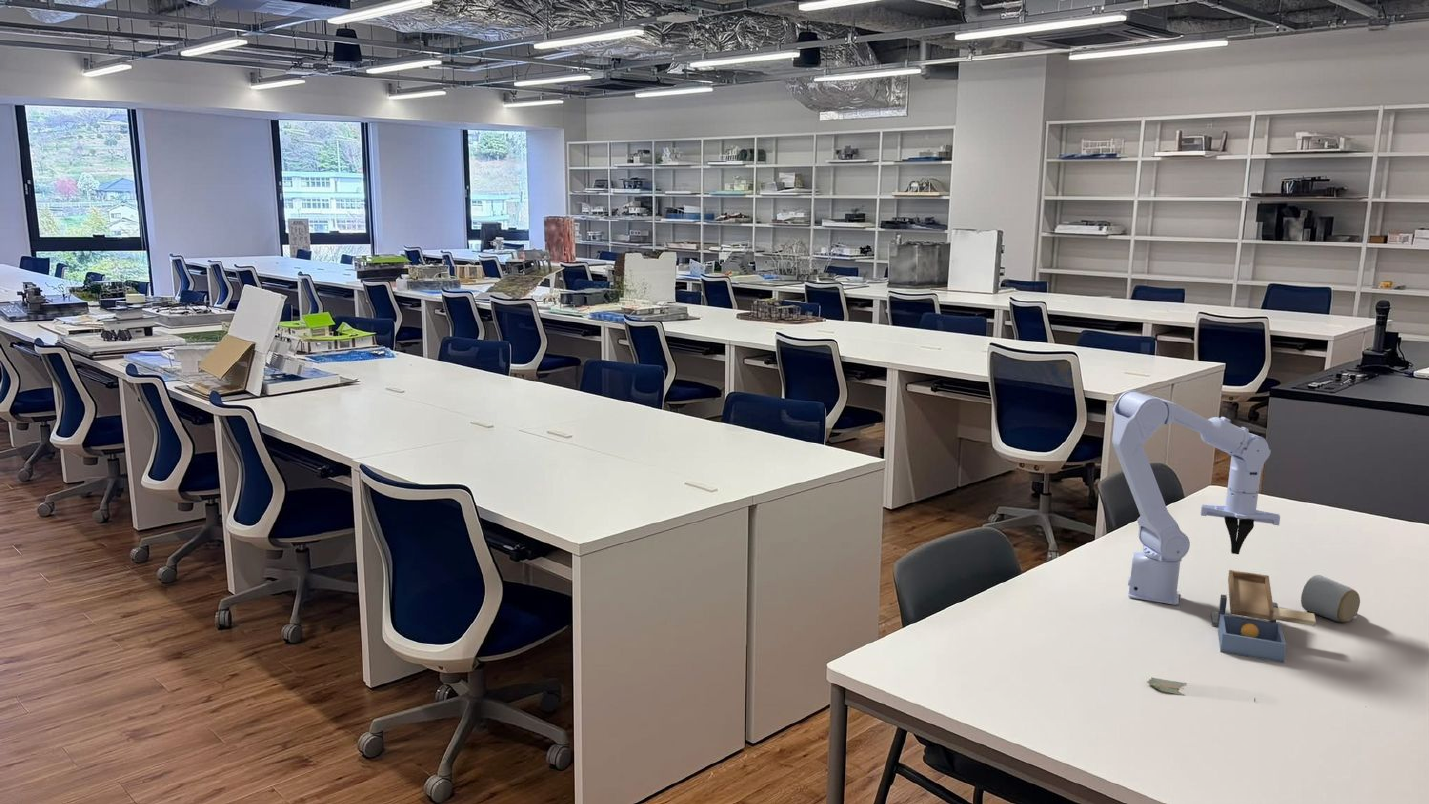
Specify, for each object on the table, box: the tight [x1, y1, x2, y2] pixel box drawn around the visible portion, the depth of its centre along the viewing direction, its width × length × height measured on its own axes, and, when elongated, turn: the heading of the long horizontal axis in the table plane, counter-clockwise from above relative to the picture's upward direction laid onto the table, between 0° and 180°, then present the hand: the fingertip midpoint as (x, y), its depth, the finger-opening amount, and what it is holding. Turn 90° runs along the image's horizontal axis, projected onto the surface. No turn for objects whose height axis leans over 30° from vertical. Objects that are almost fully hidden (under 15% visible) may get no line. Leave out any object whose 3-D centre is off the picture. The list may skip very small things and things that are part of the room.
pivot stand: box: [1210, 593, 1281, 628], centre depth 196 cm, size 12×6×5 cm, turn 66°
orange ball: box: [1241, 623, 1259, 638], centre depth 189 cm, size 3×3×3 cm
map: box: [1146, 677, 1256, 703], centre depth 169 cm, size 5×20×1 cm, turn 79°
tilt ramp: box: [1227, 569, 1316, 627], centre depth 194 cm, size 14×14×5 cm
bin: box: [1217, 614, 1287, 663], centre depth 187 cm, size 10×10×4 cm
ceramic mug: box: [1300, 574, 1361, 624], centre depth 203 cm, size 11×8×8 cm
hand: (1234, 552), depth 211 cm, fingers closed
